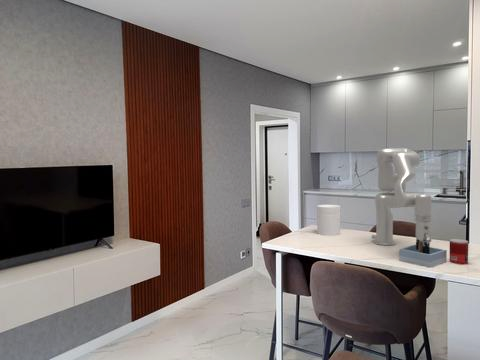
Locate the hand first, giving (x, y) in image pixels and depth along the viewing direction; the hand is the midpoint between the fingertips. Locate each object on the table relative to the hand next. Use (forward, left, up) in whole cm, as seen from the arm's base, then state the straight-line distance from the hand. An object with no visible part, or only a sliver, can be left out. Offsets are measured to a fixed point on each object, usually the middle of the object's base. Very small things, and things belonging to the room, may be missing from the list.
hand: (422, 251), depth 183 cm
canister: (-78, +19, -5) cm, 80 cm away
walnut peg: (0, 0, -5) cm, 5 cm away
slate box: (0, 0, -5) cm, 5 cm away
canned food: (+12, +12, -5) cm, 18 cm away
